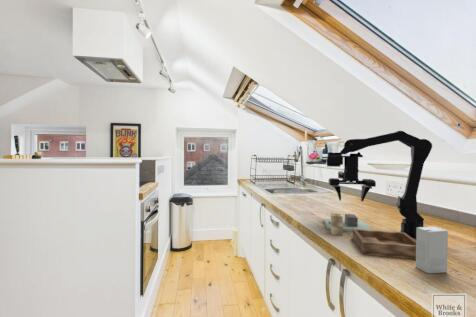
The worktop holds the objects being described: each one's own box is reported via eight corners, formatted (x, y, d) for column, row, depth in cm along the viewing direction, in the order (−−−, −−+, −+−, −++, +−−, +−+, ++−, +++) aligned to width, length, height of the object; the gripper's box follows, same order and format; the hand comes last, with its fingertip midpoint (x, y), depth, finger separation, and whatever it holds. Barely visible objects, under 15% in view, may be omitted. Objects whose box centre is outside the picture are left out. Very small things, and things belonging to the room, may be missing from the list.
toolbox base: (404, 243, 86) (404, 232, 86) (425, 259, 72) (425, 247, 72) (352, 239, 90) (352, 228, 90) (362, 254, 77) (363, 242, 77)
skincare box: (433, 265, 69) (433, 225, 68) (448, 273, 64) (449, 230, 64) (414, 266, 68) (414, 226, 68) (428, 274, 64) (429, 231, 63)
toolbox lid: (363, 223, 110) (363, 213, 110) (373, 233, 97) (373, 221, 96) (323, 221, 114) (323, 210, 114) (327, 230, 101) (327, 218, 101)
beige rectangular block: (340, 232, 98) (340, 214, 98) (342, 235, 94) (342, 216, 94) (330, 231, 99) (330, 213, 99) (332, 235, 95) (332, 215, 95)
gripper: (368, 166, 110) (367, 198, 110) (327, 165, 115) (326, 197, 115) (376, 167, 99) (375, 203, 100) (330, 167, 104) (330, 201, 104)
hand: (350, 201), depth 105 cm, fingers open, 9 cm apart
